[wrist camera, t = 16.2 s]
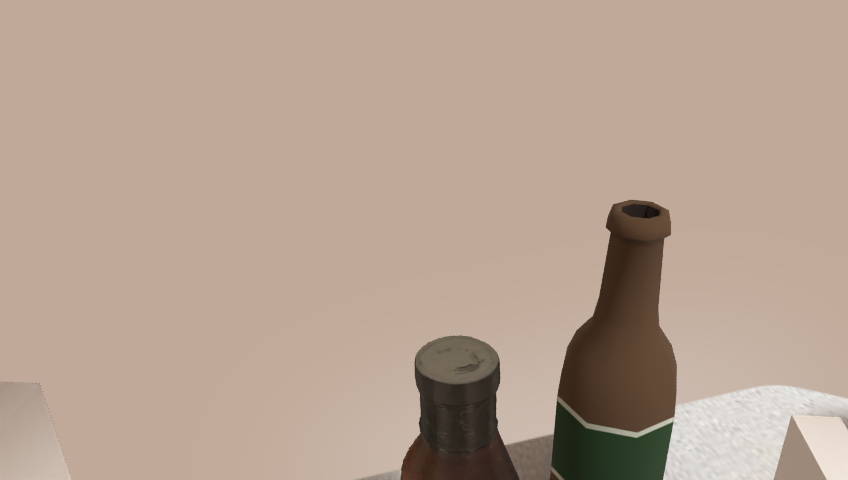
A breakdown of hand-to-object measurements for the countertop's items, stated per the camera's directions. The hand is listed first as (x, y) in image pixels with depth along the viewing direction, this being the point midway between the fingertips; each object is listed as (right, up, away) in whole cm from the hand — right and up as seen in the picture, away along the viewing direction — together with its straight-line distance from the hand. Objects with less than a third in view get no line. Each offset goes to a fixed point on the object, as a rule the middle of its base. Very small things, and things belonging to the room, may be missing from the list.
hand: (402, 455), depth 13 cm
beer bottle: (+13, -16, +39) cm, 44 cm away
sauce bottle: (+3, -20, +30) cm, 36 cm away
